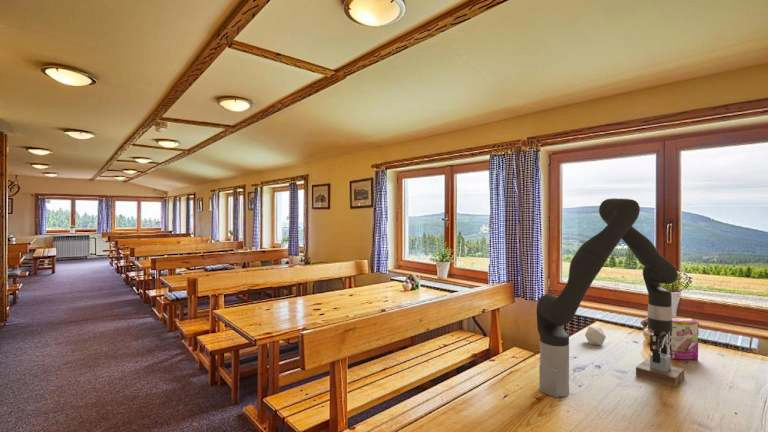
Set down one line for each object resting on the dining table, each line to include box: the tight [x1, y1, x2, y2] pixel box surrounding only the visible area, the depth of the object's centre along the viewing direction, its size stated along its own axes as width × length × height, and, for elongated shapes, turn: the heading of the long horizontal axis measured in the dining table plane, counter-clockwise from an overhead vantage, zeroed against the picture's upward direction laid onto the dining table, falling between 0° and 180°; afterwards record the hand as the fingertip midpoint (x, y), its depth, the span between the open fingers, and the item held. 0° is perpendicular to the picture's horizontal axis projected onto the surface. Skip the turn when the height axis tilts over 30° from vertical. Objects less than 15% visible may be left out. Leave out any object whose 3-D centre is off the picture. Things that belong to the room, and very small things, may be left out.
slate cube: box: [649, 353, 672, 372], centre depth 138 cm, size 5×5×5 cm
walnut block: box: [635, 358, 685, 389], centre depth 138 cm, size 12×12×4 cm
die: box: [584, 326, 607, 347], centre depth 173 cm, size 8×9×10 cm
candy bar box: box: [666, 317, 700, 361], centre depth 156 cm, size 11×5×16 cm, turn 84°
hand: (659, 359), depth 138 cm, fingers open, 8 cm apart
